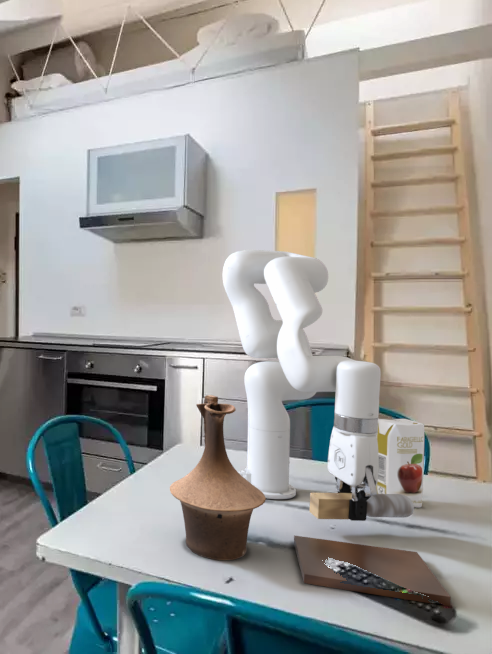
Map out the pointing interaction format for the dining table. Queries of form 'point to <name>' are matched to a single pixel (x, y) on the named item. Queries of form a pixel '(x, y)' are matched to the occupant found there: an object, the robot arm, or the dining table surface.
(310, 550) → the chopping board
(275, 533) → the dining table surface
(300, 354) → the robot arm
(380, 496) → the wood and marble capsule
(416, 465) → the juice carton
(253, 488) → the pitcher
